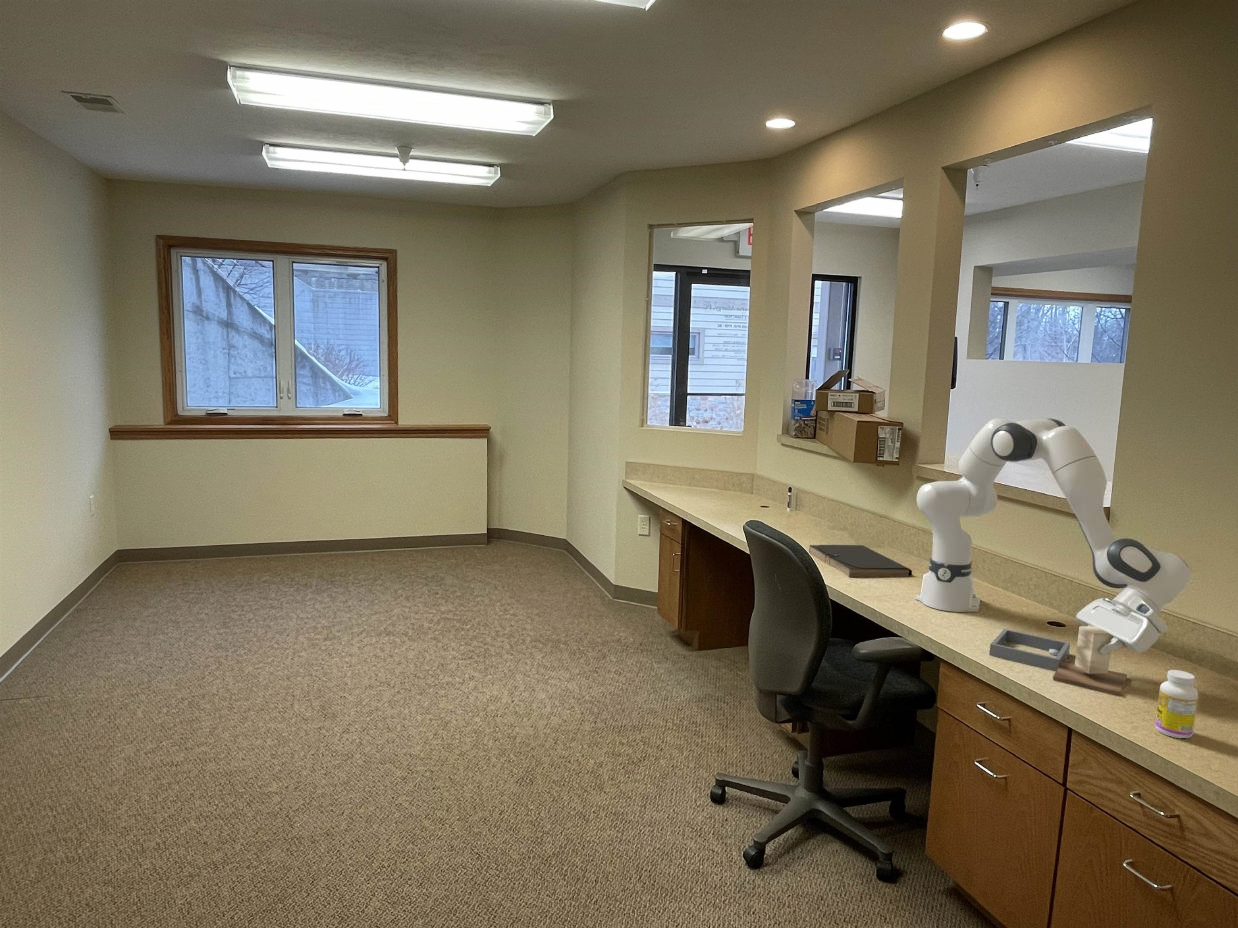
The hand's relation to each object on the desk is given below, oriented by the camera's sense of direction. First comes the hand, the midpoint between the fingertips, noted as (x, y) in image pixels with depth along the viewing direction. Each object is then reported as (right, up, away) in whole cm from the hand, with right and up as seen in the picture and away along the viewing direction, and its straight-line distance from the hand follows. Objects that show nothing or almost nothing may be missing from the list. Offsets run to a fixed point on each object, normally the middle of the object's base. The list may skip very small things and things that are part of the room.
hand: (1091, 647), depth 198 cm
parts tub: (-7, -5, +16) cm, 19 cm away
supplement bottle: (+2, -12, -26) cm, 29 cm away
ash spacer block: (0, -5, +1) cm, 5 cm away
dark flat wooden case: (-27, +7, +103) cm, 106 cm away
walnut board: (0, -8, +1) cm, 8 cm away
